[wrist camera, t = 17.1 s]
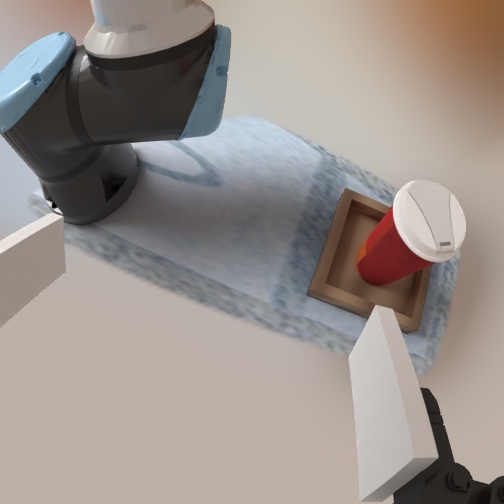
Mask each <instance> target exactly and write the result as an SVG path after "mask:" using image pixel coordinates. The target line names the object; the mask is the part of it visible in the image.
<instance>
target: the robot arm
mask: <svg viewBox="0 0 504 504" xmlns="http://www.w3.org/2000/svg"><path fill="white" fill-rule="evenodd" d="M90 1H91V5H92V8H93V13H94V17H95V23H94V24H93V26H92V28H91V29H90V30H89V32H88V33H87V35H86V37H85V40H84V45H81V46H76V40H75V38H73V37H72V36H71V35H70V34H69V33H65V32H57V33H53V34H51V35H48V36H46V37H44V38H42V39H40V40H38V41H36V42H35V43H33V44H32V45H30V46H29V47H27V48H26V49H25V50H23V51H22V52H21V53H20V54H18V55H17V56H16V57H15V58H14V59H13V60H12V61H11V62H10V63H9V64H8V65H7V66H6V67H5V68H4V69H3V71H2V72H1V73H0V134H1V135H2V136H3V137H4V138H5V139H6V141H7V142H8V143H9V144H10V145H11V147H12V148H13V149H14V150H15V151H16V152H17V153H18V155H19V156H20V157H21V158H22V159H23V160H24V161H25V163H26V164H27V165H28V166H29V167H30V168H31V169H32V170H33V172H34V173H35V174H36V175H37V176H38V177H39V181H40V184H41V188H42V191H43V194H44V197H45V200H46V202H47V204H48V206H49V207H50V208H51V210H52V211H53V212H54V213H55V214H54V213H50V214H48V215H46V216H44V217H42V218H40V219H38V220H37V221H35V222H33V223H31V224H29V225H27V226H26V227H24V228H22V229H20V230H18V231H17V232H15V233H13V234H11V235H10V236H8V237H6V238H4V239H3V240H1V241H0V328H1V327H2V326H3V325H4V324H5V323H6V322H7V321H8V320H9V319H11V318H12V317H13V316H14V315H15V314H16V313H17V312H18V311H19V310H21V309H22V308H23V307H24V306H25V305H26V304H28V303H29V302H30V301H31V300H32V299H33V298H34V297H36V296H37V295H38V294H39V293H40V292H42V290H44V289H45V288H46V287H47V286H49V285H50V284H51V283H52V282H54V281H55V280H56V279H57V278H59V277H60V276H61V275H62V274H64V273H65V272H66V268H65V249H64V221H66V222H69V223H72V224H88V223H92V222H95V221H98V220H100V219H103V218H104V217H106V216H108V215H109V214H111V213H112V212H114V211H115V210H116V209H117V208H118V207H119V206H120V205H121V204H122V203H123V202H124V201H125V200H126V199H127V197H128V196H129V194H130V193H131V191H132V189H133V187H134V185H135V183H136V180H137V176H138V160H137V156H136V154H135V152H134V149H133V147H132V145H131V144H130V143H135V142H148V141H164V140H182V139H183V138H191V137H201V136H207V135H210V134H211V133H213V132H214V131H216V129H217V128H218V127H219V125H220V122H221V119H222V114H223V108H224V102H225V95H226V86H227V71H228V66H229V60H230V48H231V30H230V29H229V28H228V27H225V26H222V25H219V24H217V25H215V18H214V11H213V9H212V8H211V7H210V6H209V5H207V4H206V3H204V2H203V1H201V0H90ZM348 359H349V367H350V374H351V384H352V393H353V403H354V414H355V425H356V438H357V453H358V469H359V494H360V501H364V502H382V501H384V500H385V499H386V498H388V497H389V496H391V495H392V494H393V497H394V503H393V504H504V476H501V477H498V478H496V479H495V480H494V481H493V482H491V483H490V484H485V483H482V482H478V481H474V480H473V479H472V476H471V475H470V472H469V471H468V470H467V469H466V468H465V467H464V466H462V465H460V464H458V463H455V461H454V458H453V454H452V450H451V447H450V443H449V440H448V436H447V432H446V429H445V426H444V425H443V423H444V422H443V419H442V416H441V415H440V409H439V406H438V403H437V400H436V399H435V397H434V396H433V395H432V393H431V392H430V390H429V389H427V388H420V387H419V383H418V380H417V377H416V374H415V370H414V367H413V364H412V361H411V358H410V355H409V352H408V349H407V347H406V344H405V341H404V338H403V335H402V332H401V330H400V327H399V324H398V322H397V319H396V316H395V314H394V311H393V309H390V308H386V307H382V306H378V305H375V307H374V309H373V311H372V313H371V315H370V317H369V319H368V321H367V323H366V325H365V327H364V329H363V331H362V333H361V335H360V337H359V339H358V340H357V342H356V344H355V346H354V348H353V350H352V351H351V353H350V355H349V357H348Z"/></svg>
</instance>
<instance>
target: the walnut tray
mask: <svg viewBox="0 0 504 504" xmlns="http://www.w3.org/2000/svg"><path fill="white" fill-rule="evenodd" d="M389 209H390V207H388V206H385V205H383V204H381V203H379V202H377V201H374V200H372V199H370V198H368V197H365V196H363V195H361V194H359V193H356V192H354V191H352V190H349V189H347V188H345V190H344V192H343V193H342V195H341V197H340V198H339V201H338V204H337V208H336V211H335V214H334V217H333V220H332V223H331V226H330V229H329V232H328V235H327V238H326V241H325V244H324V247H323V250H322V253H321V256H320V258H319V261H318V264H317V267H316V270H315V273H314V275H313V278H312V281H311V284H310V287H309V289H308V292H307V295H309V296H311V297H314V298H316V299H319V300H321V301H324V302H326V303H329V304H331V305H334V306H336V307H339V308H341V309H344V310H347V311H349V312H352V313H354V314H357V315H359V316H362V317H365V318H367V319H369V317H370V315H371V313H372V311H373V309H374V307H375V305H378V306H382V307H386V308H390V309H393V311H394V314H395V316H396V319H397V322H398V324H399V327H400V330H401V332H404V333H410V332H415V331H418V327H419V323H420V319H421V315H422V311H423V307H424V302H425V297H426V293H427V288H428V283H429V278H430V272H431V267H432V265H430V266H428V267H426V268H424V269H421V270H419V271H416V272H414V273H412V274H410V275H407V276H405V277H403V278H401V279H398V280H396V281H394V282H391V283H389V284H386V285H383V286H374V285H371V284H368V283H367V282H365V281H364V280H363V279H362V278H361V277H360V275H359V273H358V271H357V269H356V263H355V260H356V255H357V252H358V250H359V249H360V247H361V246H362V244H363V243H364V242H365V240H366V239H367V238H368V237H369V235H370V234H371V233H372V231H373V230H374V229H375V227H376V226H377V225H378V224H379V222H380V221H381V220H382V218H383V217H384V216H385V214H386V213H387V212H388V210H389Z"/></svg>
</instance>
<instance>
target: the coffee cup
mask: <svg viewBox="0 0 504 504" xmlns="http://www.w3.org/2000/svg"><path fill="white" fill-rule="evenodd" d="M465 233H466V221H465V216H464V213H463V211H462V208H461V206H460V204H459V202H458V201H457V199H456V198H455V197H454V195H453V194H452V193H451V192H449V191H448V190H447V189H446V188H444V187H443V186H441V185H439V184H437V183H435V182H431V181H427V180H418V181H411V182H408V183H407V184H406V185H405V186H403V187H402V188H401V189H400V190H399V191H398V193H397V194H396V196H395V199H394V202H393V205H392V206H391V208H390V209H389V210H388V212H387V213H386V214H385V216H384V217H383V218H382V220H381V221H380V222H379V224H378V225H377V226H376V227H375V229H374V230H373V231H372V233H371V234H370V235H369V237H368V238H367V239H366V240H365V242H364V243H363V244H362V246H361V247H360V249H359V250H358V252H357V255H356V260H355V263H356V269H357V271H358V273H359V275H360V277H361V278H362V279H363V280H364V281H365V282H367V283H368V284H371V285H374V286H383V285H386V284H389V283H391V282H394V281H396V280H398V279H401V278H403V277H405V276H407V275H410V274H412V273H414V272H416V271H419V270H421V269H424V268H426V267H428V266H430V265H432V264H434V263H436V262H444V261H447V260H449V259H451V258H452V257H454V256H455V254H456V253H457V252H458V250H459V248H460V246H461V244H462V242H463V240H464V237H465Z"/></svg>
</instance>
